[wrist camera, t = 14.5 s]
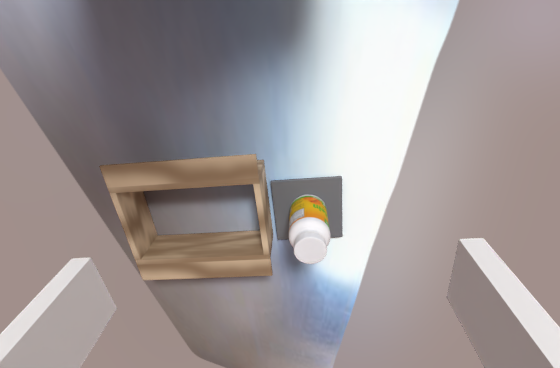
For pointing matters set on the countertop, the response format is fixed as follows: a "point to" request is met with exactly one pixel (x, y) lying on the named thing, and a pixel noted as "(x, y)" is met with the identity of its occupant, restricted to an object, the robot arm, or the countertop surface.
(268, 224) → the wooden frame
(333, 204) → the mat
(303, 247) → the supplement bottle
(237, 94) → the countertop surface
